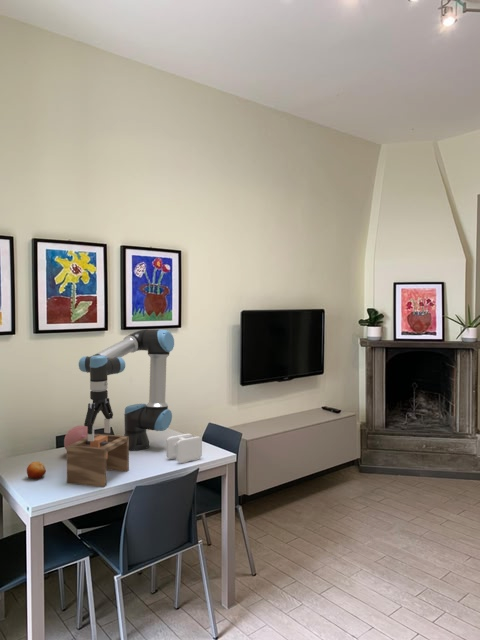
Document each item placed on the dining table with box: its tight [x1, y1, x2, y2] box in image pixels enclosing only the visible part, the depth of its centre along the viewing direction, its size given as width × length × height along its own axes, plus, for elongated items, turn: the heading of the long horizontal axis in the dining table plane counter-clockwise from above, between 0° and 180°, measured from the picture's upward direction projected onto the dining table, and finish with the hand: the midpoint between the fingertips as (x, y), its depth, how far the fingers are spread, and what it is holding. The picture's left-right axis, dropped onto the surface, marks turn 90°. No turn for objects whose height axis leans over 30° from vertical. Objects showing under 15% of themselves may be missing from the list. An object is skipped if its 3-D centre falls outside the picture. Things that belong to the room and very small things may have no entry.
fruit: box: [26, 461, 47, 480], centre depth 212 cm, size 8×8×8 cm
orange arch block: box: [90, 435, 108, 459], centre depth 214 cm, size 4×8×10 cm, turn 165°
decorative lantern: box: [63, 425, 90, 451], centre depth 243 cm, size 15×20×15 cm
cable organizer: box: [165, 433, 203, 464], centre depth 239 cm, size 15×11×12 cm
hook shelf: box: [66, 433, 130, 488], centre depth 214 cm, size 22×18×16 cm
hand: (99, 436), depth 214 cm, fingers open, 13 cm apart
